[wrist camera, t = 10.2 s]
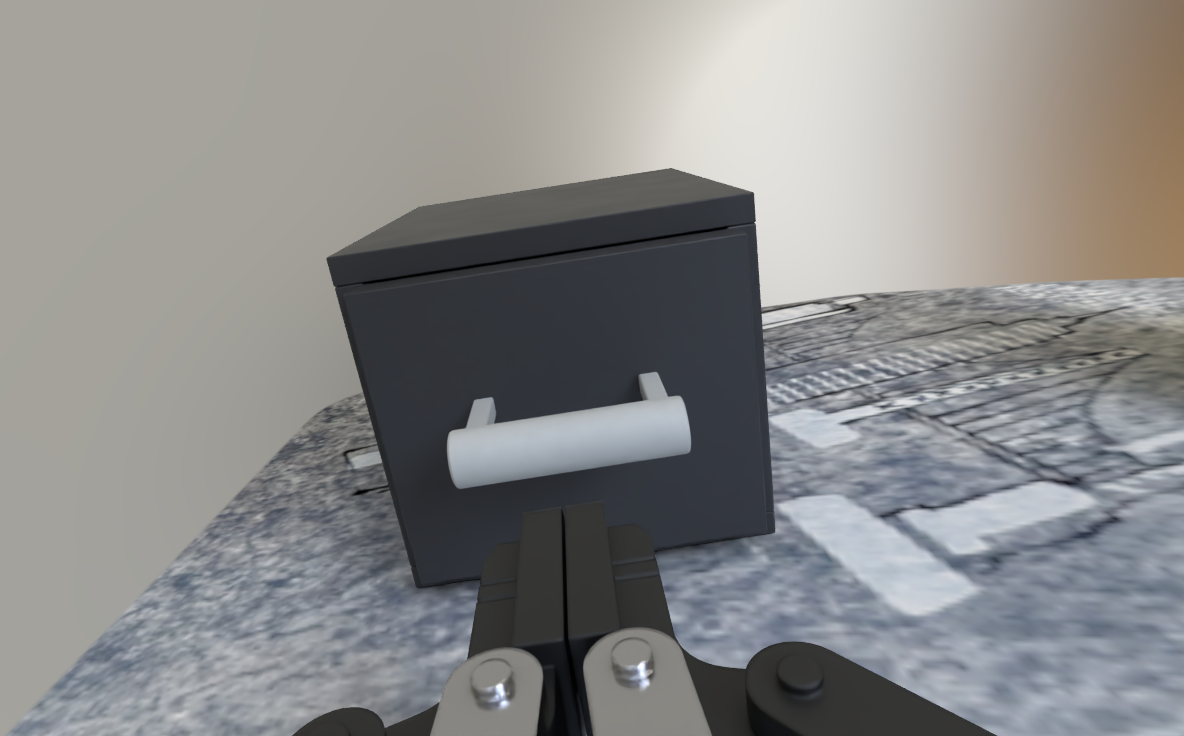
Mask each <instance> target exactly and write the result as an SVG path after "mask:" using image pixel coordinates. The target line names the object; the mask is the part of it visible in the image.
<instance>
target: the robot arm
mask: <svg viewBox="0 0 1184 736" xmlns="http://www.w3.org/2000/svg"><path fill="white" fill-rule="evenodd" d="M477 599H478V603H477V604H476V610H475V616H474V622H473V628H472V634H471V640H470V646H469V652H468V658H467V660H466V661H465V662H463V663H462V664H461V665H460V666H459V667H457V668H456V669H455V671H454V672H453V673H452V674H451V675H450V677H449V679H448V680H447V682H446V684H445V687H444V690H443V693H442V696H441V700H440V702H439V703H437V704H436V705H435V706H433V707H431V708H430V709H428V710H426V711H424V712H422V713H420V714H418V715H415V716H413V717H411V718H408V719H406V720H404V721H401V722H399V723H396V724H394V725H392V726H389V727H387V728H384V725H383V722H382V720H381V719H380V717H379V716H378V715H377V714H376V713H374V712H373V711H370V710H368V709H364V708H358V707H350V708H342V709H338V710H334V711H332V712H329V713H326V714H324V715H322V716H320V717H318V718H316V719H314V720H312V721H311V722H309V723H307V724H306V725H305V726H303V727H302V728H301V729H299V730H298V731H297V732H296V733H295V734H293V735H292V736H586V734H587V736H997V735H995V734H993V733H991V732H989V731H987V730H985V729H983V728H981V727H979V726H977V725H975V724H973V723H971V722H969V721H967V720H965V719H963V718H961V717H959V716H957V715H956V714H954V713H952V712H950V711H948V710H946V709H944V708H942V707H940V706H938V705H936V704H934V703H932V702H930V701H928V700H926V699H924V698H922V697H920V696H918V695H916V694H915V693H913V692H911V691H909V690H907V689H905V688H903V687H901V686H899V685H897V684H895V683H893V682H891V681H889V680H887V679H885V678H883V677H881V676H879V675H877V674H875V673H874V672H872V671H870V670H868V669H866V668H864V667H862V666H860V665H858V664H856V663H854V662H852V661H850V660H848V659H846V658H844V657H842V656H840V655H838V654H836V653H834V652H833V651H831V650H828V649H826V648H824V647H822V646H818V645H815V644H811V643H805V642H783V643H778V644H774V645H771V646H768V647H766V648H764V649H763V650H761V651H759V652H758V653H757V654H756V655H755V656H754V657H753V658H752V659H751V660H750V662H749V663H748V665H747V667H746V669H738V668H729V667H722V666H716V665H712V664H709V663H705V662H703V661H701V660H698V659H697V658H695V657H693V656H692V655H690V654H689V653H688V652H686V651H685V650H684V649H683V648H682V647H681V646H680V644H679V643H678V641H677V639H676V637H675V635H674V632H673V627H672V623H671V619H670V615H669V611H668V607H667V603H666V598H665V594H664V590H663V586H662V582H661V578H660V574H659V569H658V565H657V561H656V557H655V553H654V548H653V544H652V540H651V537H650V536H649V535H648V534H647V533H646V532H645V531H644V530H643V529H642V528H641V527H639V526H638V525H637V524H636V523H632V524H625V525H619V526H612V527H607V521H606V514H605V508H604V502H603V501H596V502H590V503H583V504H576V505H570V506H565V517H564V512H563V508H562V507H558V508H551V509H545V510H538V511H532V512H525V513H523V516H522V527H521V539H520V541H515V542H509V543H502V544H497V546H496V547H495V548H494V550H493V551H492V552H491V554H490V555H489V556H488V557H487V559H486V560H485V561H484V563H483V568H482V574H481V580H480V586H479V592H478V598H477Z"/></svg>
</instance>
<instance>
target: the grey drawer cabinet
mask: <svg viewBox="0 0 1184 736" xmlns="http://www.w3.org/2000/svg"><path fill="white" fill-rule="evenodd" d="M755 221H756V220H755V204H754V193H753V192H750V191H746V190H743V189H740V188H736V187H733V186H729V185H726V184H722V183H719V182H716V181H712V180H709V179H706V178H702V177H699V176H695V175H692V174H689V173H686V172H682V171H679V170H675V169H672V168H669V169H663V170H657V171H650V172H643V173H637V174H630V175H624V176H617V177H611V178H604V179H598V180H591V181H585V182H578V183H571V184H565V185H559V186H552V187H545V188H539V189H533V190H526V191H520V192H513V193H506V194H500V195H493V196H487V197H481V198H474V199H467V200H461V201H455V202H448V203H441V204H434V205H428V206H422V207H418V208H416V209H414V210H412V211H411V212H409V213H407V214H405V215H403V216H402V217H400V218H398V219H396V220H395V221H393V222H391V223H389V224H387V225H385V226H383V227H382V228H380V229H378V230H376V231H374V232H373V233H371V234H369V235H367V236H366V237H364V238H362V239H360V240H358V241H356V242H354V243H353V244H351V245H349V246H347V247H345V248H344V249H342V250H340V251H338V252H337V253H335V254H333V255H331V256H329V257H327V263H328V266H329V270H330V273H331V277H332V281H333V285H334V286H335V287H336V288H335V290H336V294H337V298H338V301H339V305H340V309H341V312H342V316H343V320H344V323H345V327H346V331H347V334H348V338H349V342H350V345H351V349H352V352H353V356H354V360H355V364H356V367H357V371H358V374H359V378H360V382H361V386H362V389H363V393H364V397H365V400H366V404H367V408H368V411H369V415H370V419H371V422H372V426H373V430H374V433H375V437H376V441H377V444H378V448H379V452H380V455H381V459H382V463H383V466H384V470H385V474H386V477H387V481H388V485H389V488H390V492H391V496H392V499H393V503H394V507H395V510H396V514H397V518H398V521H399V525H400V529H401V532H402V536H403V540H404V543H405V547H406V551H407V554H408V558H409V562H410V565H411V566H412V568H411V569H412V573H413V576H414V580H415V584H416V587H417V588H422V587H428V586H435V585H441V584H448V583H454V582H461V581H467V580H473V579H480V578H481V576H475V577H468V578H462V579H456V580H449V581H443V582H436V583H430V584H424V585H421V582H420V579H419V575H418V571H417V567H416V564H415V560H414V556H413V553H412V549H411V545H410V541H409V538H408V534H407V530H406V527H405V523H404V519H403V516H402V512H401V508H400V504H399V501H398V497H397V493H396V490H395V486H394V482H393V478H392V475H391V471H390V467H389V464H388V460H387V456H386V453H385V449H384V445H383V441H382V438H381V434H380V430H379V427H378V423H377V419H376V416H375V412H374V408H373V404H372V401H371V397H370V393H369V390H368V386H367V382H366V378H365V375H364V371H363V367H362V364H361V360H360V356H359V353H358V349H357V345H356V341H355V338H354V334H353V330H352V327H351V323H350V319H349V315H348V312H347V308H346V304H345V301H344V297H343V295H344V294H345V293H347V292H348V291H349V290H351V289H352V288H353V287H355V286H359V285H366V284H372V283H379V282H385V281H392V280H396V279H397V278H398V277H403V276H409V275H416V274H422V273H429V272H435V271H442V270H448V269H455V268H461V267H468V266H474V265H481V264H487V263H494V262H501V261H507V260H514V259H520V258H527V257H533V256H540V255H546V254H553V253H559V252H566V251H572V250H579V249H585V248H592V247H598V246H605V245H611V244H618V243H624V242H631V241H637V240H644V239H650V238H657V237H663V236H670V235H676V234H683V233H689V232H696V231H697V232H698V233H704V232H711V231H717V230H724V229H730V228H737V229H739V230H741V231H743V232H745V233H747V243H748V257H749V272H750V286H751V301H752V315H753V330H754V344H755V359H756V373H757V388H758V402H759V417H760V431H761V446H762V460H763V475H764V489H765V504H766V518H767V531H764V532H757V533H751V534H744V535H738V536H732V537H725V538H719V539H712V540H706V541H700V542H693V543H687V544H680V545H674V546H667V547H661V548H655V549H654V551H660V550H666V549H672V548H679V547H685V546H692V545H698V544H704V543H711V542H717V541H724V540H730V539H737V538H743V537H749V536H756V535H762V534H769V533H774V532H775V518H774V511H773V510H774V501H773V486H772V470H771V455H770V439H769V424H768V408H767V393H766V377H765V362H764V346H763V331H762V315H761V300H760V284H759V271H758V254H757V238H756V225H755V223H754V222H755Z"/></svg>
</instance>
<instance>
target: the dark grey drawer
mask: <svg viewBox="0 0 1184 736" xmlns="http://www.w3.org/2000/svg"><path fill="white" fill-rule="evenodd" d="M343 297H344V301H345V304H346V308H347V312H348V315H349V319H350V323H351V327H352V330H353V334H354V338H355V341H356V345H357V349H358V353H359V356H360V360H361V364H362V367H363V371H364V375H365V378H366V382H367V386H368V390H369V393H370V397H371V401H372V404H373V408H374V412H375V416H376V419H377V423H378V427H379V430H380V434H381V438H382V441H383V445H384V449H385V453H386V456H387V460H388V464H389V467H390V471H391V475H392V478H393V482H394V486H395V490H396V493H397V497H398V501H399V504H400V508H401V512H402V516H403V519H404V523H405V527H406V530H407V534H408V538H409V541H410V545H411V549H412V553H413V556H414V560H415V564H416V567H417V571H418V575H419V579H420V582H421V585H424V584H430V583H436V582H443V581H449V580H456V579H462V578H468V577H475V576H481V574H482V568H483V563H484V561H485V560H486V559H487V557H488V556H489V555H490V554H491V552H492V551H493V550H494V548H495V547H496V546H497V544H502V543H509V542H515V541H520V539H521V527H522V516H523V513H525V512H532V511H538V510H545V509H551V508H558V507H562V508H563V512H564V517H565V506H570V505H576V504H583V503H590V502H596V501H603V502H604V508H605V514H606V521H607V527H612V526H619V525H625V524H632V523H636V524H637V525H638V526H639V527H641V528H642V529H643V530H644V531H645V532H646V533H647V534H648V535H649V536H650V537H651V540H652V544H653V548H654V549H655V548H661V547H667V546H674V545H680V544H687V543H693V542H700V541H706V540H712V539H719V538H725V537H732V536H738V535H744V534H751V533H757V532H764V531H767V518H766V504H765V489H764V475H763V460H762V446H761V431H760V417H759V402H758V388H757V373H756V359H755V344H754V330H753V315H752V301H751V286H750V272H749V257H748V243H747V233H745V232H743V231H741V230H739V229H737V228H730V229H724V230H717V231H711V232H704V233H698V232H697V231H696V232H689V233H683V234H676V235H670V236H663V237H657V238H650V239H644V240H637V241H631V242H624V243H618V244H611V245H605V246H598V247H592V248H585V249H579V250H572V251H566V252H559V253H553V254H546V255H540V256H533V257H527V258H520V259H514V260H507V261H501V262H494V263H487V264H481V265H474V266H468V267H461V268H455V269H448V270H442V271H435V272H429V273H422V274H416V275H409V276H403V277H398V278H397V279H396V280H392V281H385V282H379V283H372V284H366V285H359V286H355V287H353V288H352V289H351V290H349V291H348V292H347V293H345V294H344V295H343Z"/></svg>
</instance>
